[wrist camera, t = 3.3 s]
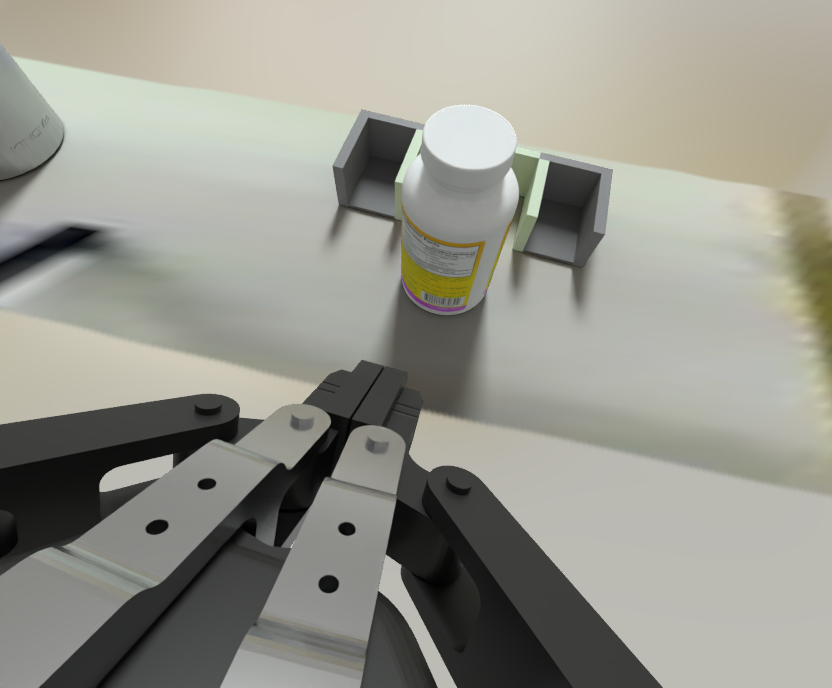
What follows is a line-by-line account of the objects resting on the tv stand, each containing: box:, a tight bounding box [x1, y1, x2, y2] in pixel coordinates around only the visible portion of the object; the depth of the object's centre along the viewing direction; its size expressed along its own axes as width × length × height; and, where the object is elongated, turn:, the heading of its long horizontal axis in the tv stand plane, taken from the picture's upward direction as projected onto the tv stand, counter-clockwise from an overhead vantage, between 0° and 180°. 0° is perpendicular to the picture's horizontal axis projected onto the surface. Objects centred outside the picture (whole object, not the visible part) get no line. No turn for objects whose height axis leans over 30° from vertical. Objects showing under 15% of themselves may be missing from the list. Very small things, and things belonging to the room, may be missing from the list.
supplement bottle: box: [401, 105, 519, 315], centre depth 27 cm, size 7×7×13 cm
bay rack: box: [333, 110, 613, 267], centre depth 34 cm, size 20×6×4 cm, turn 74°
